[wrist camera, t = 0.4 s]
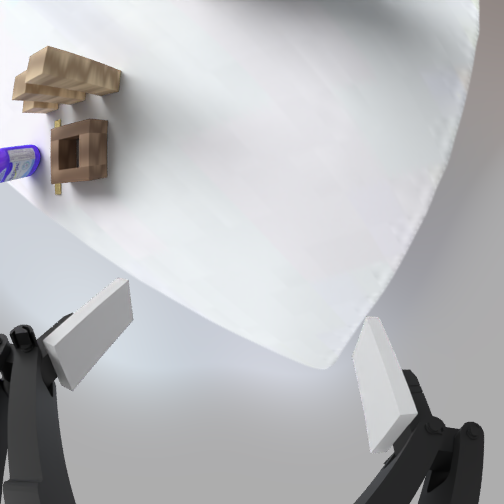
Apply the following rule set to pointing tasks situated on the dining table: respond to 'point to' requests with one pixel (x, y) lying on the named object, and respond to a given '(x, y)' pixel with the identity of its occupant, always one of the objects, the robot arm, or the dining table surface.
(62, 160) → the hole block
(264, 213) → the dining table surface
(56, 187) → the strip
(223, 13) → the dining table surface
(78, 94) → the peg medium
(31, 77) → the peg long
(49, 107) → the peg short
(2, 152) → the bottle
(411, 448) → the robot arm
